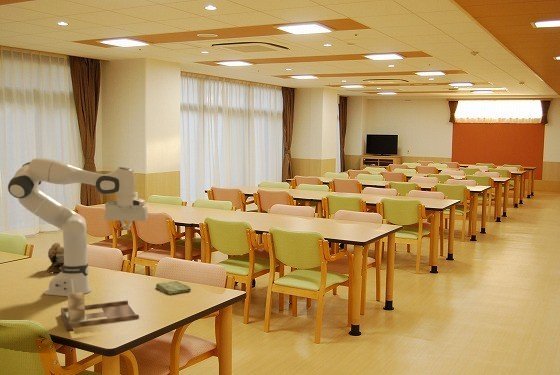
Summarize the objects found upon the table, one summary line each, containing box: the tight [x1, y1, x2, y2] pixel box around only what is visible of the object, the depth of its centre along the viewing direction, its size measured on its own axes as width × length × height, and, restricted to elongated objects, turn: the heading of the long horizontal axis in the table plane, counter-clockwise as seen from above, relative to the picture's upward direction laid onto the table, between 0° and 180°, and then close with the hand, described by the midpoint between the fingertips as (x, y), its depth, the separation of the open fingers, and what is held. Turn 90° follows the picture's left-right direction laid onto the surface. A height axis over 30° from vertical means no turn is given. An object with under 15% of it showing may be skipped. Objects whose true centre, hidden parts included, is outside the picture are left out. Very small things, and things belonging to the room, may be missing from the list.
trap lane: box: [60, 300, 140, 332], centre depth 249 cm, size 29×24×3 cm
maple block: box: [67, 292, 86, 321], centre depth 245 cm, size 6×6×10 cm
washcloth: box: [155, 280, 192, 295], centre depth 296 cm, size 13×18×3 cm
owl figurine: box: [46, 242, 64, 274], centre depth 335 cm, size 18×12×17 cm, turn 45°
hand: (126, 229), depth 276 cm, fingers closed
